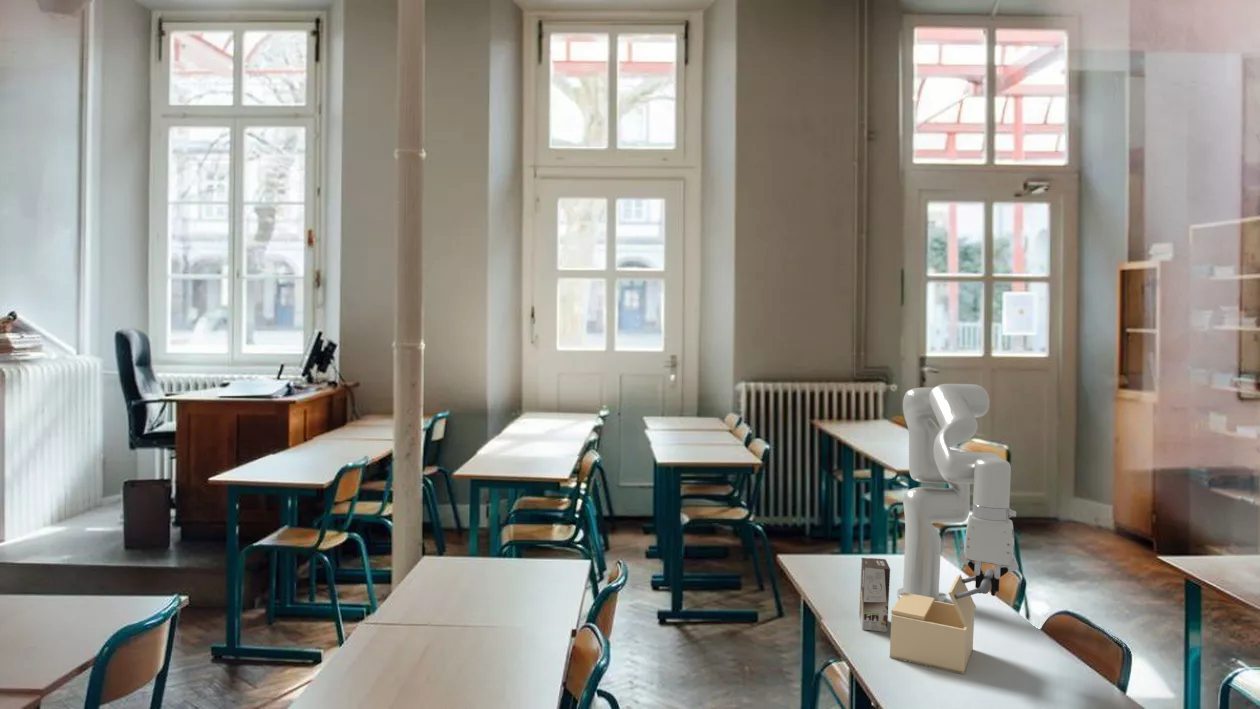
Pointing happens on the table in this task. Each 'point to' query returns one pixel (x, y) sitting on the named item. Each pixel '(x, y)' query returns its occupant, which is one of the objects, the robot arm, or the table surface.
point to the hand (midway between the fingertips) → (986, 592)
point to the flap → (968, 595)
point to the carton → (930, 633)
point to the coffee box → (874, 594)
